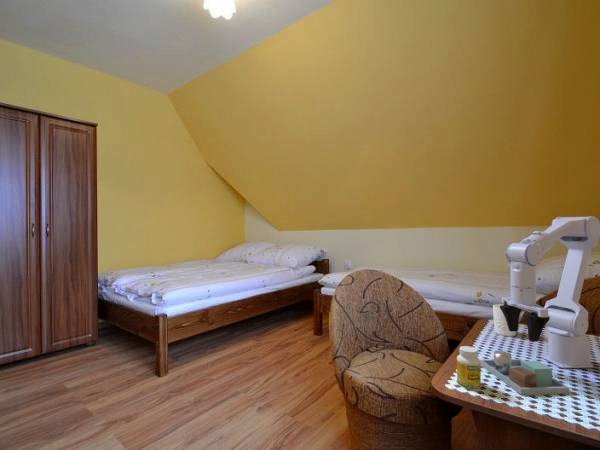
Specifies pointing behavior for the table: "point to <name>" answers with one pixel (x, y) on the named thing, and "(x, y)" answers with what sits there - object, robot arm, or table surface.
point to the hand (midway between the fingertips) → (523, 335)
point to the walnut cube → (522, 377)
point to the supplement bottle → (468, 368)
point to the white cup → (501, 322)
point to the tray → (555, 389)
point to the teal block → (539, 372)
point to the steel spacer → (502, 362)
